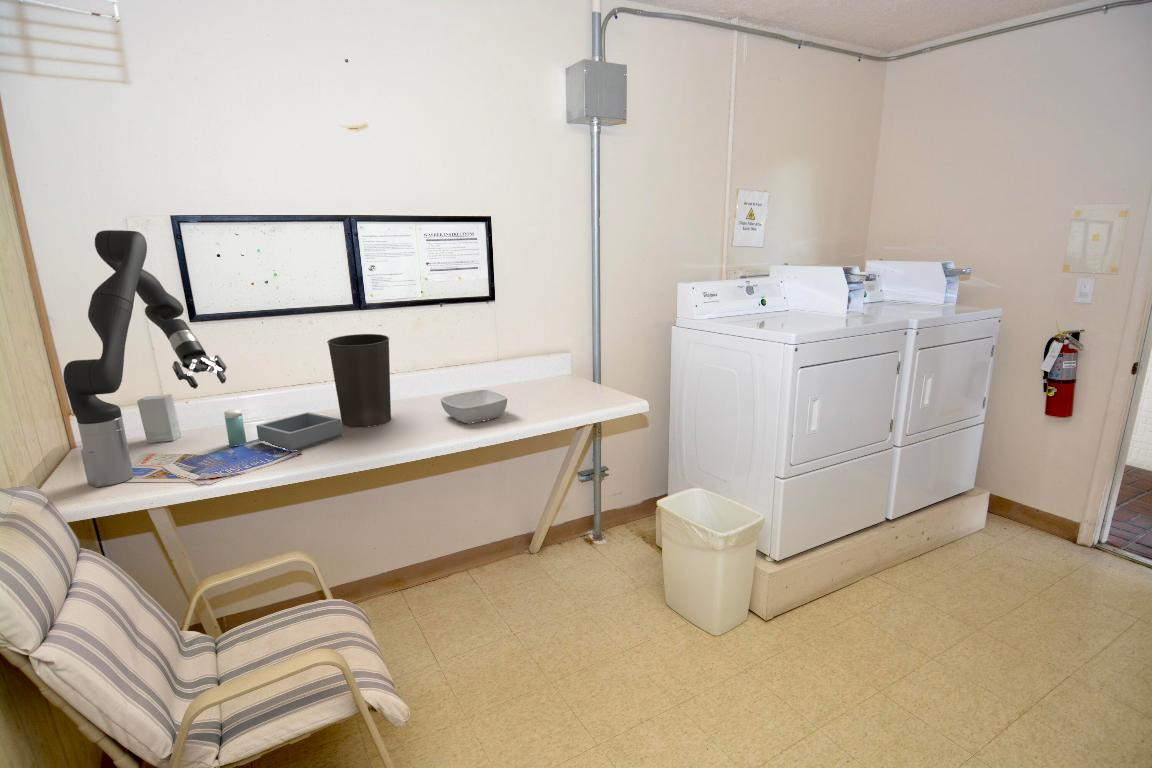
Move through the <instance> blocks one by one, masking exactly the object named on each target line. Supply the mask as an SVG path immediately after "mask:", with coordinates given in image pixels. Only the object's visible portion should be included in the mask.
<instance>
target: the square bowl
mask: <svg viewBox="0 0 1152 768" xmlns="http://www.w3.org/2000/svg"><path fill="white" fill-rule="evenodd" d="M440 403H441V406H442V408H443V411H444V412H445V413H446V414H447V415H449V416H451V418H453V417H454V419H455V420H457V421H458V420H459V421H458V422H460V421H461V422H460V423H462V422H464V423H463V424H465V423H472V422H478V421H483V420H487V421H489V420H488V419H492V420H494V419H493V418H496V419H498V418H499V417H501V416H502V415H503V414H504V413H505V411H506V408H507V404H508V397H506V396H505V395H503V394H500V393H497V392H495V391H492V390H489V389H479V390H471V391H463V392H459V393H453V394H450V395H445V396H443V397H441V398H440ZM497 417H498V418H497ZM483 422H484V421H483ZM478 423H479V422H478ZM472 424H473V423H472Z"/></svg>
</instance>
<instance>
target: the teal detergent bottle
mask: <svg viewBox="0 0 1152 768" xmlns="http://www.w3.org/2000/svg"><path fill="white" fill-rule="evenodd" d="M223 415H224V419H225V427H226V433H227V438H228V446H229V447H230V446H235V445H240V444H244V443H246V444H247V437H246V431H245V425H244V417H243V410H242V409H240V408H239V409H235V408H234V409H229V410H227V411H224V412H223Z"/></svg>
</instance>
